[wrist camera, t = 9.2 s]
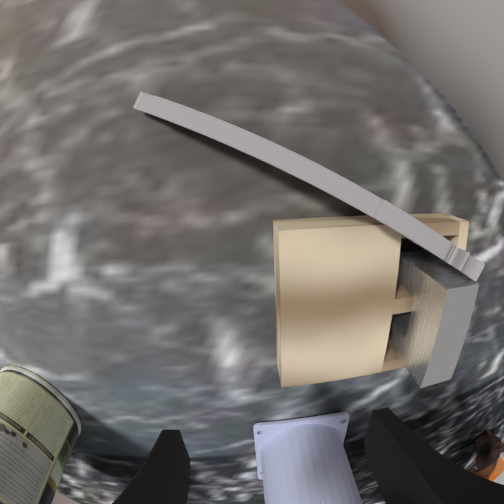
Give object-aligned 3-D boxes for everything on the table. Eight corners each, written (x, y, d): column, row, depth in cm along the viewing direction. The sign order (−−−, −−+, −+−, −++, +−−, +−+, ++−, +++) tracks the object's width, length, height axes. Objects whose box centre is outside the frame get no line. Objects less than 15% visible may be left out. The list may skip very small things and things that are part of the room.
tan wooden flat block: (426, 339, 21) (441, 357, 18) (277, 363, 21) (281, 387, 18) (446, 213, 18) (468, 221, 15) (272, 220, 17) (278, 230, 15)
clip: (410, 331, 20) (450, 378, 15) (383, 336, 20) (420, 388, 15) (424, 249, 19) (479, 283, 13) (394, 251, 18) (447, 289, 13)
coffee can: (96, 447, 24) (61, 558, 10) (23, 428, 23) (-22, 515, 10) (59, 372, 20) (-15, 502, 7) (-16, 356, 20) (-89, 446, 7)
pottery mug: (482, 449, 31) (478, 493, 24) (433, 449, 34) (426, 495, 28) (518, 415, 24) (519, 469, 18) (463, 416, 28) (458, 474, 22)
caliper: (437, 239, 18) (498, 272, 12) (430, 253, 18) (488, 291, 12) (142, 92, 15) (96, 65, 9) (134, 110, 15) (84, 92, 9)
